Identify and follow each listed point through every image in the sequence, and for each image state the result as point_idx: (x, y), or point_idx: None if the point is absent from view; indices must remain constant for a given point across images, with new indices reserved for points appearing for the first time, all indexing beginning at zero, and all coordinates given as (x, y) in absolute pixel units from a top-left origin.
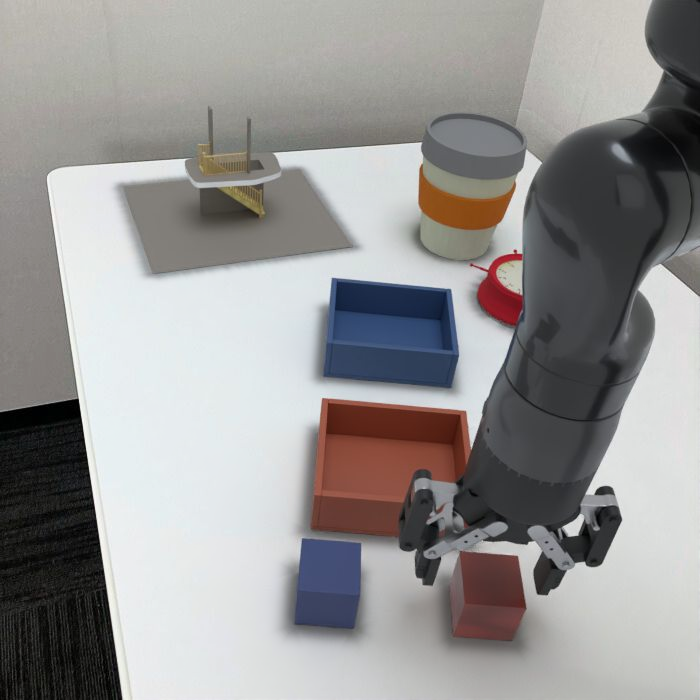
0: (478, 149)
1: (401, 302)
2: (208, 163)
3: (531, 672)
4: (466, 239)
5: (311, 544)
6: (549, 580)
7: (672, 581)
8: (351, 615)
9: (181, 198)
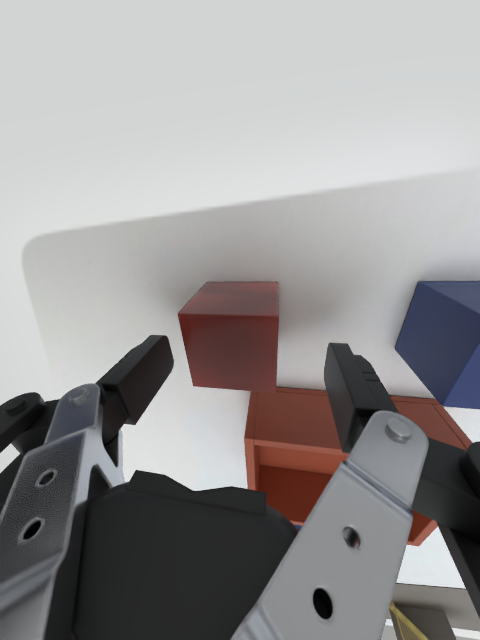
0: None
1: None
2: None
3: (183, 243)
4: None
5: None
6: (134, 359)
7: (62, 352)
8: (450, 293)
9: (457, 620)
